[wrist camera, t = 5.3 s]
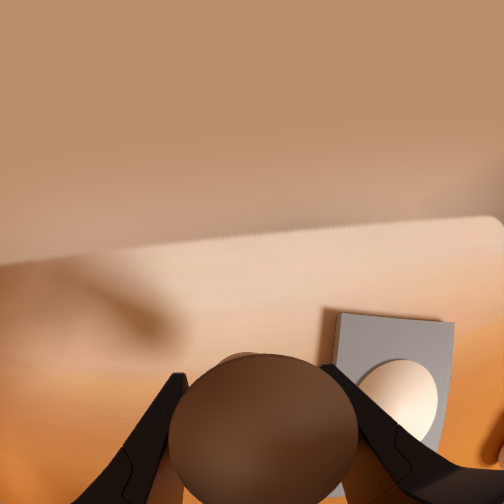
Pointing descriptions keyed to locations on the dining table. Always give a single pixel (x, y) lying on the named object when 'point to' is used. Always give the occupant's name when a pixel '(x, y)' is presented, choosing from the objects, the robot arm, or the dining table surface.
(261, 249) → the dining table surface
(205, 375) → the pepper mill
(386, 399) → the serving board
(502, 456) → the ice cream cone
